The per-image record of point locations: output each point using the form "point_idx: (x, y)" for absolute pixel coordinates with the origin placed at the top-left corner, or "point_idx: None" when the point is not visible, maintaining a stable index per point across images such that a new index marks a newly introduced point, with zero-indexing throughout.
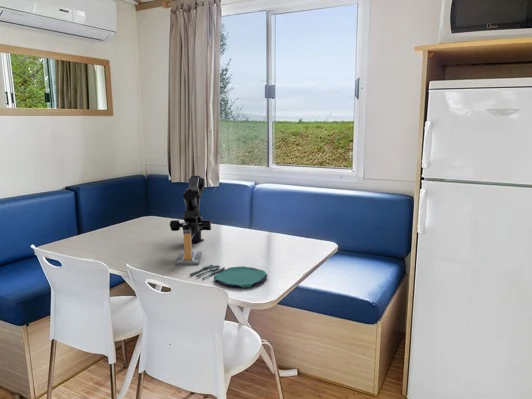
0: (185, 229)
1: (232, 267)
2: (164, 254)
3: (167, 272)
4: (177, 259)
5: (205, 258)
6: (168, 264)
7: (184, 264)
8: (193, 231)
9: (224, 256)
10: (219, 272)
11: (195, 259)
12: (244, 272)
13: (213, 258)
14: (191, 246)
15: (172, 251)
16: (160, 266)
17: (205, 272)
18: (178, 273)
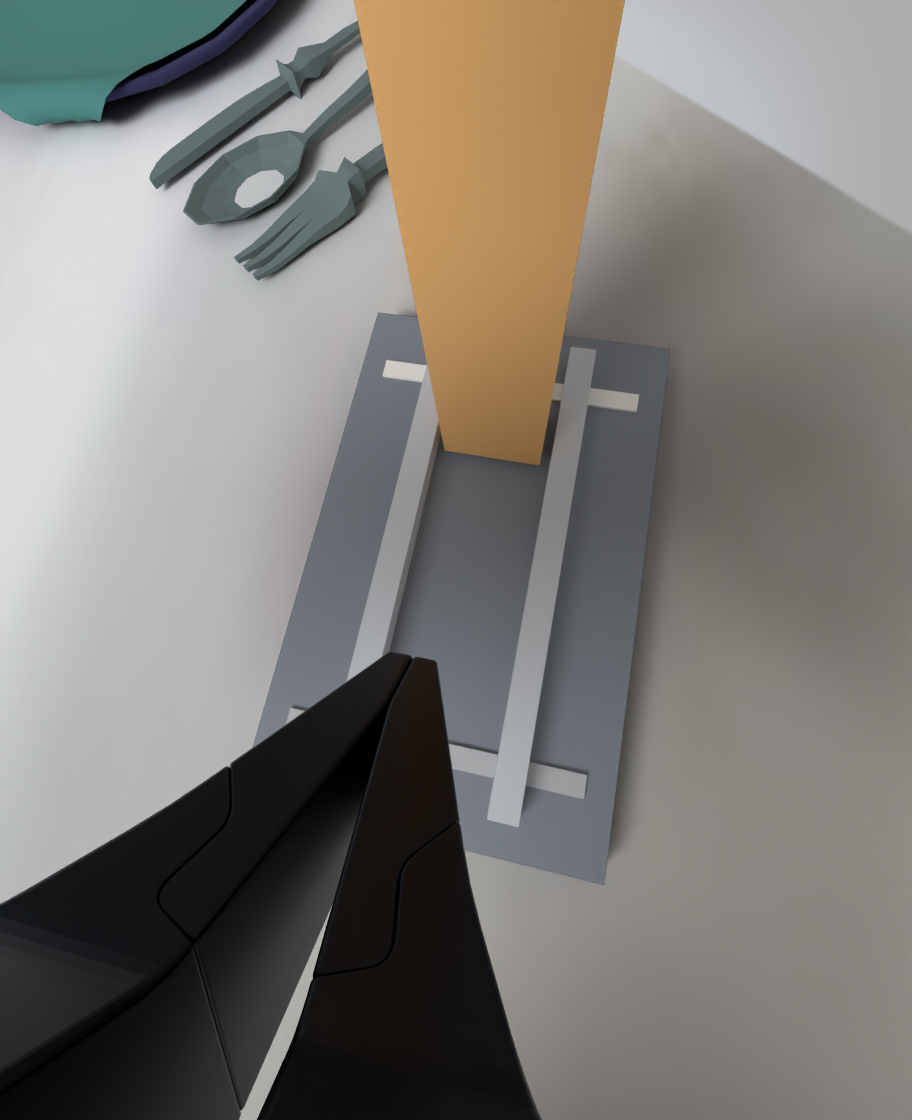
0: (523, 1096)
1: (89, 78)
2: (889, 924)
3: (742, 190)
4: (648, 484)
5: (263, 534)
6: (757, 421)
7: None
8: (127, 846)
9: (15, 551)
10: (241, 17)
11: (402, 426)
12: (39, 34)
13: (168, 509)
14: (422, 319)
15: (754, 1087)
16: (856, 374)
17: (361, 81)
18: (622, 151)
